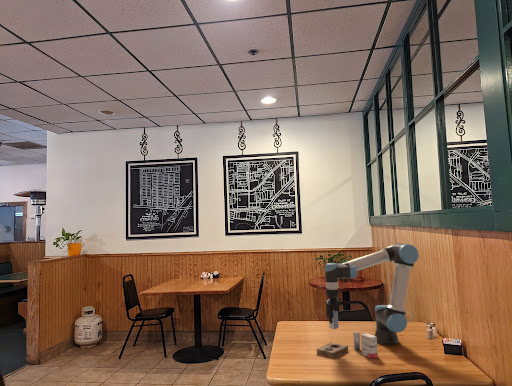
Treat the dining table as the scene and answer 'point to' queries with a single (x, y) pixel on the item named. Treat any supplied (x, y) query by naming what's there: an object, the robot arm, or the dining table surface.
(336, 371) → the dining table surface
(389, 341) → the robot arm
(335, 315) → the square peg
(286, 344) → the dining table surface
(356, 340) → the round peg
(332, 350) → the socket block
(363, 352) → the ink box
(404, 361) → the dining table surface
